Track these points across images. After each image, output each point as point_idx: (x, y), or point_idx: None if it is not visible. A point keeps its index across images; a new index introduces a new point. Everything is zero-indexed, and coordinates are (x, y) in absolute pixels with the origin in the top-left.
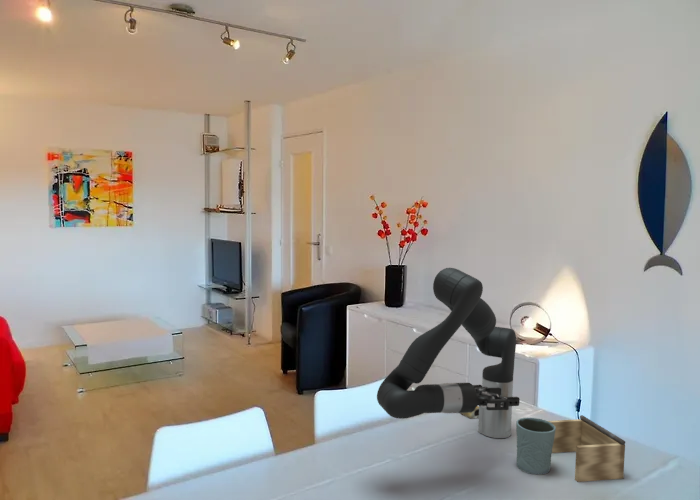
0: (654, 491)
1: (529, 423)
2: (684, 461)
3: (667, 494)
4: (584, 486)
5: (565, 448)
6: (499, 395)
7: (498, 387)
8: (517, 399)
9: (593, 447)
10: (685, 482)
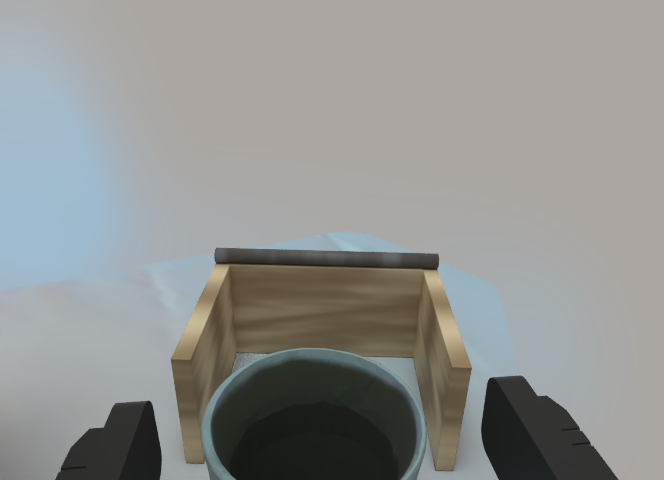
0: (493, 330)
1: (224, 424)
2: (347, 235)
3: (505, 318)
4: (485, 466)
5: (224, 380)
6: (159, 474)
7: (112, 409)
8: (545, 404)
9: (457, 329)
10: (441, 271)
